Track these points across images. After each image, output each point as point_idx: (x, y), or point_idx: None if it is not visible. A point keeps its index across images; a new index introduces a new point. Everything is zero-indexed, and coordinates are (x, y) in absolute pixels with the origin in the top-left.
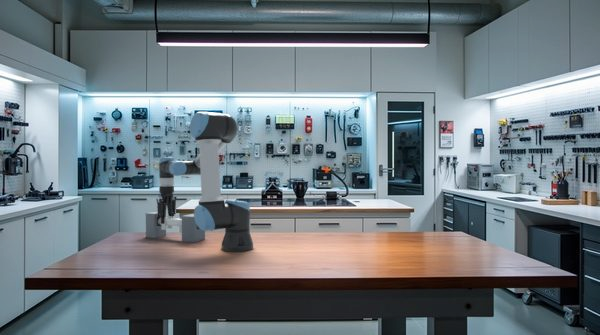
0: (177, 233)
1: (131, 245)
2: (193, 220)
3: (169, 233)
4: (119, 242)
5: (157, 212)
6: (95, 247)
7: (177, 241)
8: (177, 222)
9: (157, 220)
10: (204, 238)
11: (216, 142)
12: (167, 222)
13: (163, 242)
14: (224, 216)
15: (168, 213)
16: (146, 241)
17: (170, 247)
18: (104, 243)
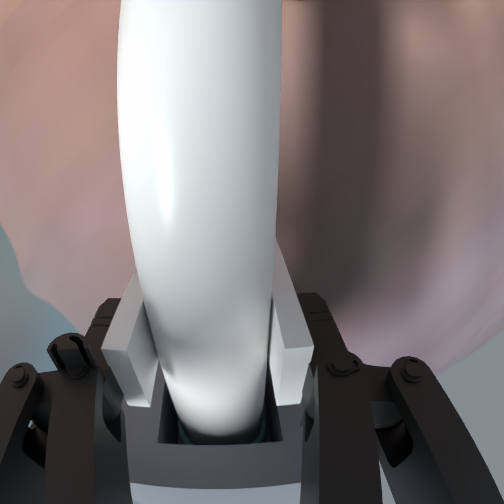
0: (52, 270)
1: (477, 252)
2: None
3: (87, 315)
4: (420, 347)
5: (210, 502)
6: (489, 334)
7: (315, 32)
8: (281, 31)
9: (262, 408)
10: None
11: None
12: (273, 266)
13: (390, 120)
14: None
15: (124, 439)
16: (388, 259)
17: (470, 11)
18: (435, 368)
